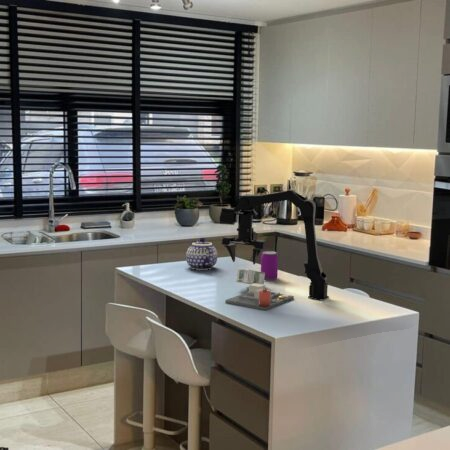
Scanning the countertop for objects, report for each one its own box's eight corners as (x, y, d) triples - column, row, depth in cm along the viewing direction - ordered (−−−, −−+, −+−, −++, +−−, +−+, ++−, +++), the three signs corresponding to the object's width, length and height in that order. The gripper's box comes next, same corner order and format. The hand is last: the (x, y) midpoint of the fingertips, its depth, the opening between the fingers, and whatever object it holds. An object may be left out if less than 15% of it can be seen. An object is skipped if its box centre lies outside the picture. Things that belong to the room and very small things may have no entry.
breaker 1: (264, 293, 284) (265, 284, 284) (259, 295, 281) (259, 286, 280) (254, 291, 287) (254, 283, 287) (248, 293, 284) (248, 285, 283)
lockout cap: (272, 304, 268) (272, 289, 267) (266, 306, 264) (266, 291, 263) (262, 302, 270) (262, 287, 269) (256, 304, 266) (256, 289, 266)
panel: (293, 299, 281) (293, 293, 281) (265, 310, 263) (265, 304, 263) (255, 292, 291) (255, 287, 291) (225, 302, 273) (225, 297, 273)
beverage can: (265, 275, 322) (265, 250, 321) (280, 278, 319) (281, 252, 317) (257, 278, 316) (258, 252, 314) (272, 281, 312) (273, 254, 310)
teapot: (225, 272, 328) (225, 241, 326) (194, 274, 323) (195, 243, 321) (208, 262, 351) (208, 232, 349) (179, 263, 346) (179, 234, 344)
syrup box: (254, 271, 305) (236, 268, 293) (265, 272, 302) (249, 269, 290) (252, 284, 304) (235, 281, 292) (264, 285, 301) (247, 283, 289)
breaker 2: (270, 299, 275) (271, 290, 274) (265, 301, 271) (265, 292, 271) (260, 297, 278) (260, 288, 277) (254, 299, 274) (254, 290, 274)
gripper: (273, 225, 290) (272, 262, 292) (233, 221, 298) (232, 257, 300) (263, 228, 280) (261, 267, 282) (221, 224, 288) (220, 261, 291)
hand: (243, 263), depth 289 cm, fingers open, 9 cm apart
